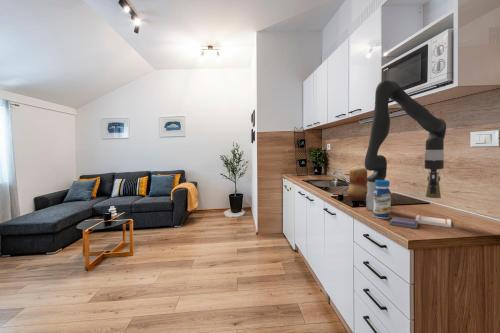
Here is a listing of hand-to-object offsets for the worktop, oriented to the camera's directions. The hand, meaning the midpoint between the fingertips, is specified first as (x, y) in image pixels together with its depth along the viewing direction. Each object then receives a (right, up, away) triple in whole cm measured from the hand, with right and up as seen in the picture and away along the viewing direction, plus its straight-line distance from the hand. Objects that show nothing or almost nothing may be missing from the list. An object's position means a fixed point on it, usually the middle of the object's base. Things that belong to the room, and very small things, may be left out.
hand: (433, 193), depth 119 cm
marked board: (0, -14, +1) cm, 14 cm away
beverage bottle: (-19, -14, +12) cm, 27 cm away
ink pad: (-16, -15, -2) cm, 22 cm away
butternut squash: (-14, -12, +51) cm, 54 cm away
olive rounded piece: (0, -2, 0) cm, 2 cm away
